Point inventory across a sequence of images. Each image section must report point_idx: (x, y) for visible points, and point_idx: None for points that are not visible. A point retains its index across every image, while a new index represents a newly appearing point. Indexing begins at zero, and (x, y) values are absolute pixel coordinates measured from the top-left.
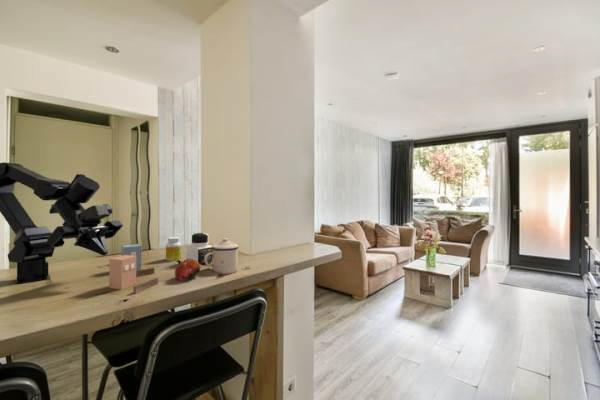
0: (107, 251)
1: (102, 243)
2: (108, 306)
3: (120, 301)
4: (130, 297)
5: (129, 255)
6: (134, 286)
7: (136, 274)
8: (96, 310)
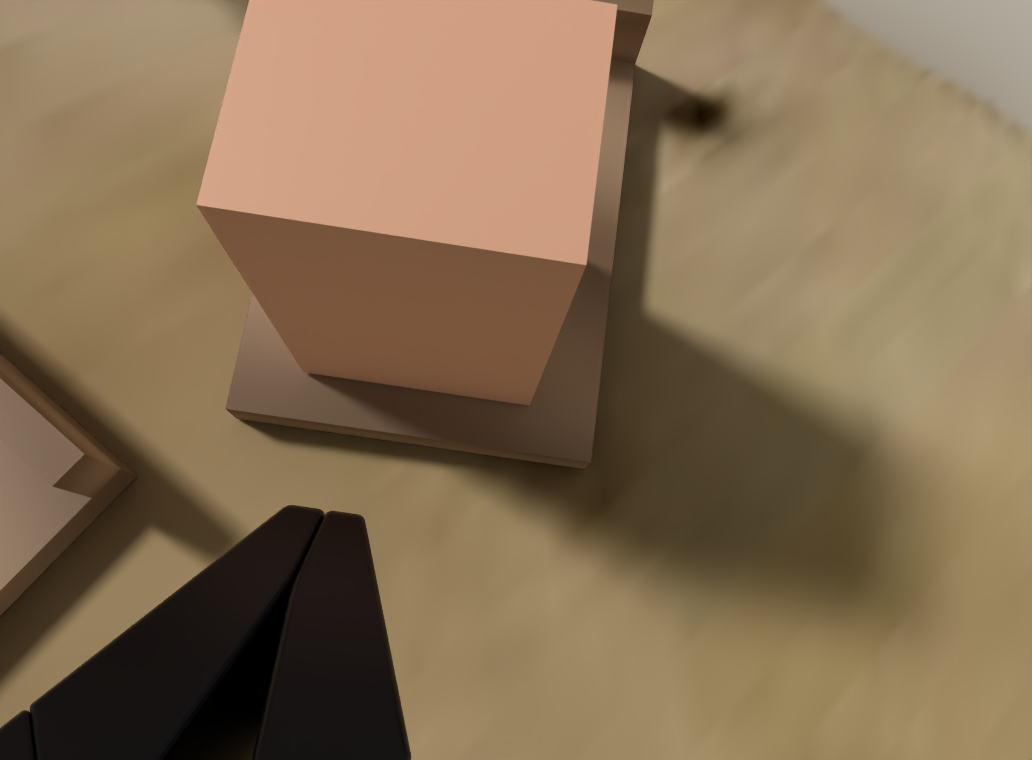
0: (280, 515)
1: (199, 706)
2: (856, 165)
3: (736, 139)
4: (630, 113)
5: (229, 88)
6: (641, 11)
7: (8, 376)
8: (950, 202)
